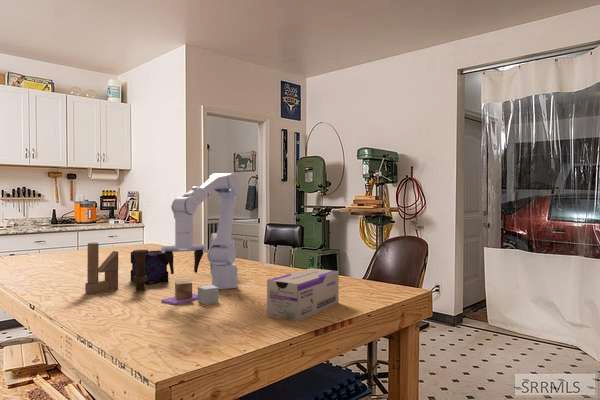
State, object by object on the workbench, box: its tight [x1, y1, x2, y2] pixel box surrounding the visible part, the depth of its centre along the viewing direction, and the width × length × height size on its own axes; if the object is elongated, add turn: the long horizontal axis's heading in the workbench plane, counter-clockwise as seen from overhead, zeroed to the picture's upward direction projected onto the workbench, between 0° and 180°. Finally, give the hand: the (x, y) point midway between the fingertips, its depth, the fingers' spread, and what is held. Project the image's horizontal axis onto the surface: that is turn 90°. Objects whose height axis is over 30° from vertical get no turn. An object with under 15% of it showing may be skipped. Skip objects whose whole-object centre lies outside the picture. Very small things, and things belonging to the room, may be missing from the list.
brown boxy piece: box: [174, 280, 193, 299], centre depth 140 cm, size 5×5×5 cm
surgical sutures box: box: [266, 267, 340, 323], centre depth 129 cm, size 25×11×11 cm, turn 148°
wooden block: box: [84, 242, 119, 295], centre depth 153 cm, size 4×11×18 cm, turn 145°
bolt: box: [131, 249, 150, 292], centre depth 153 cm, size 6×5×15 cm
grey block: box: [197, 284, 220, 306], centre depth 137 cm, size 5×5×5 cm
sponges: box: [160, 293, 198, 306], centre depth 140 cm, size 7×13×2 cm, turn 147°
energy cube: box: [130, 249, 169, 286], centre depth 171 cm, size 12×12×12 cm
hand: (184, 273), depth 140 cm, fingers open, 7 cm apart
